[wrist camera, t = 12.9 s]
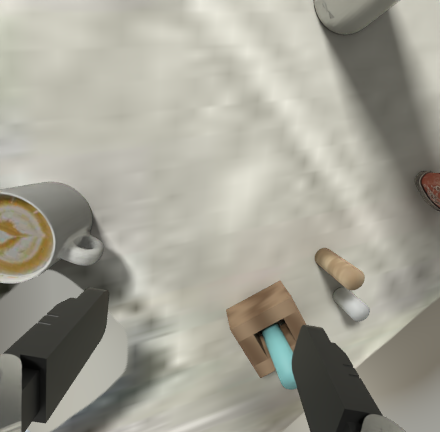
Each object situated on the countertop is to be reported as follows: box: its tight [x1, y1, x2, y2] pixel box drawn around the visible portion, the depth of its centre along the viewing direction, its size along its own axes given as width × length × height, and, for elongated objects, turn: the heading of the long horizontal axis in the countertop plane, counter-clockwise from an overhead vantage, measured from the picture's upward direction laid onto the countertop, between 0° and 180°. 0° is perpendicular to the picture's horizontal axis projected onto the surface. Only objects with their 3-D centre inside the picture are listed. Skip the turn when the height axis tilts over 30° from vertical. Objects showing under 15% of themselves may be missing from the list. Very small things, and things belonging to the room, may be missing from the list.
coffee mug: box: [0, 182, 104, 283], centre depth 31 cm, size 13×10×10 cm
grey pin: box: [333, 287, 370, 321], centre depth 41 cm, size 3×3×5 cm
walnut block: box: [226, 281, 306, 378], centre depth 40 cm, size 10×10×5 cm
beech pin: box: [315, 248, 365, 290], centre depth 38 cm, size 3×3×8 cm
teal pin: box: [261, 322, 297, 389], centre depth 37 cm, size 3×3×12 cm
